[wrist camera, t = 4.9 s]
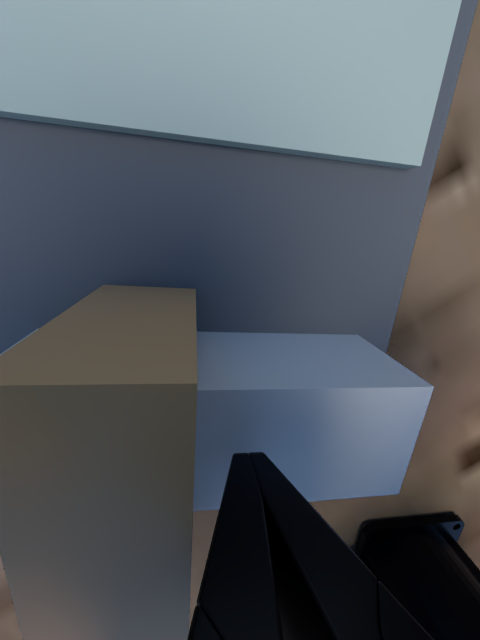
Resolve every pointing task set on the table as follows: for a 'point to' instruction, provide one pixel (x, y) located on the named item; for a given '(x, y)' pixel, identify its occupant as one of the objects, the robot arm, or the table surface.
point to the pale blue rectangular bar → (305, 412)
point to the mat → (210, 226)
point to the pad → (234, 71)
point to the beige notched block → (101, 467)
